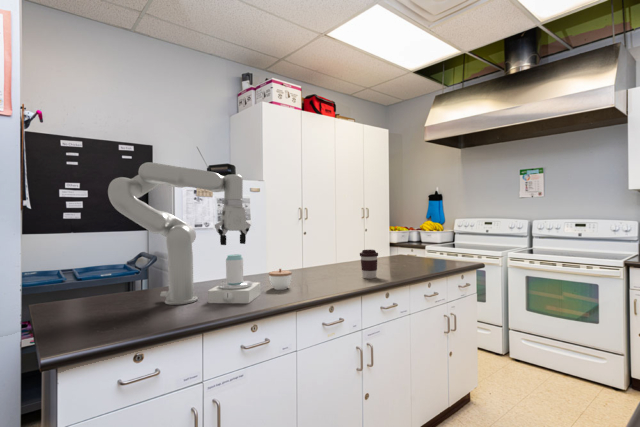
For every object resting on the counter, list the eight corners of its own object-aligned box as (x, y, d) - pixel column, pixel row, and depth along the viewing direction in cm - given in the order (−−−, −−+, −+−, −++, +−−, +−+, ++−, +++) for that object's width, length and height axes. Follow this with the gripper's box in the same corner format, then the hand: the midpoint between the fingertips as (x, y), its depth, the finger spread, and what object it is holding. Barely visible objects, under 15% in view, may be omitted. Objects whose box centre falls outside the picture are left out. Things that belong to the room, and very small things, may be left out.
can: (243, 284, 146) (242, 255, 146) (225, 285, 144) (225, 256, 145) (243, 281, 153) (242, 253, 153) (226, 282, 151) (226, 254, 151)
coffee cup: (380, 279, 185) (379, 250, 186) (361, 279, 186) (360, 251, 186) (377, 275, 195) (376, 249, 195) (359, 276, 195) (358, 249, 196)
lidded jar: (264, 290, 164) (264, 270, 164) (276, 285, 174) (275, 266, 174) (285, 291, 160) (284, 270, 160) (295, 286, 170) (295, 267, 170)
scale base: (207, 303, 140) (207, 291, 140) (223, 293, 158) (223, 282, 158) (248, 303, 139) (248, 291, 139) (260, 293, 156) (260, 282, 156)
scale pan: (212, 289, 142) (212, 286, 142) (225, 282, 156) (225, 280, 156) (246, 289, 141) (246, 286, 141) (256, 282, 155) (256, 280, 155)
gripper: (220, 203, 140) (220, 246, 140) (255, 204, 153) (255, 243, 153) (210, 203, 145) (210, 245, 145) (244, 204, 158) (244, 242, 158)
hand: (233, 244), depth 149 cm, fingers open, 9 cm apart
